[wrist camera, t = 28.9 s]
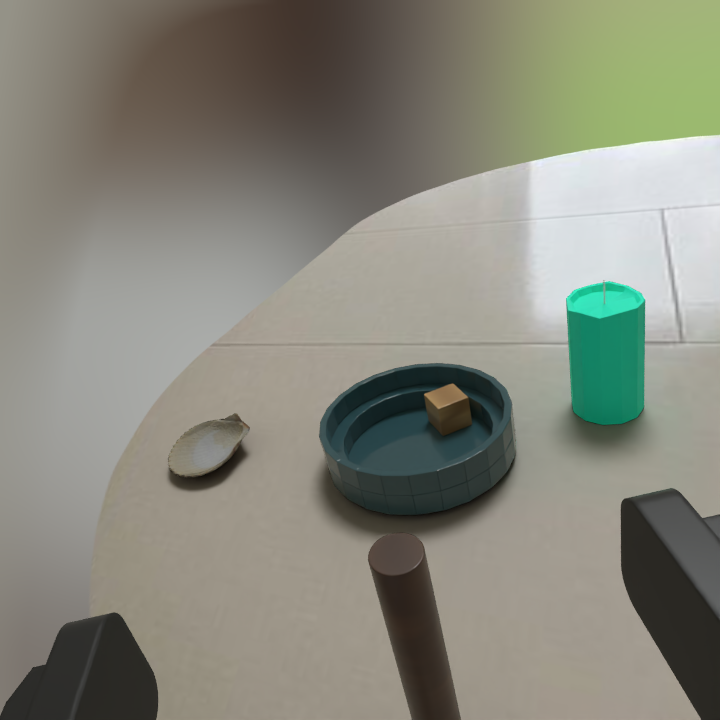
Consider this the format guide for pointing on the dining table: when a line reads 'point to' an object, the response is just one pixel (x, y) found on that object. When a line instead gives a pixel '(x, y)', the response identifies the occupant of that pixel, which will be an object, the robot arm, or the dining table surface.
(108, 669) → the robot arm
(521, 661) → the dining table surface
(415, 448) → the bowl
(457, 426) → the block
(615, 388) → the candle
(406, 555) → the muddler
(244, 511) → the dining table surface
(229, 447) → the seashell
